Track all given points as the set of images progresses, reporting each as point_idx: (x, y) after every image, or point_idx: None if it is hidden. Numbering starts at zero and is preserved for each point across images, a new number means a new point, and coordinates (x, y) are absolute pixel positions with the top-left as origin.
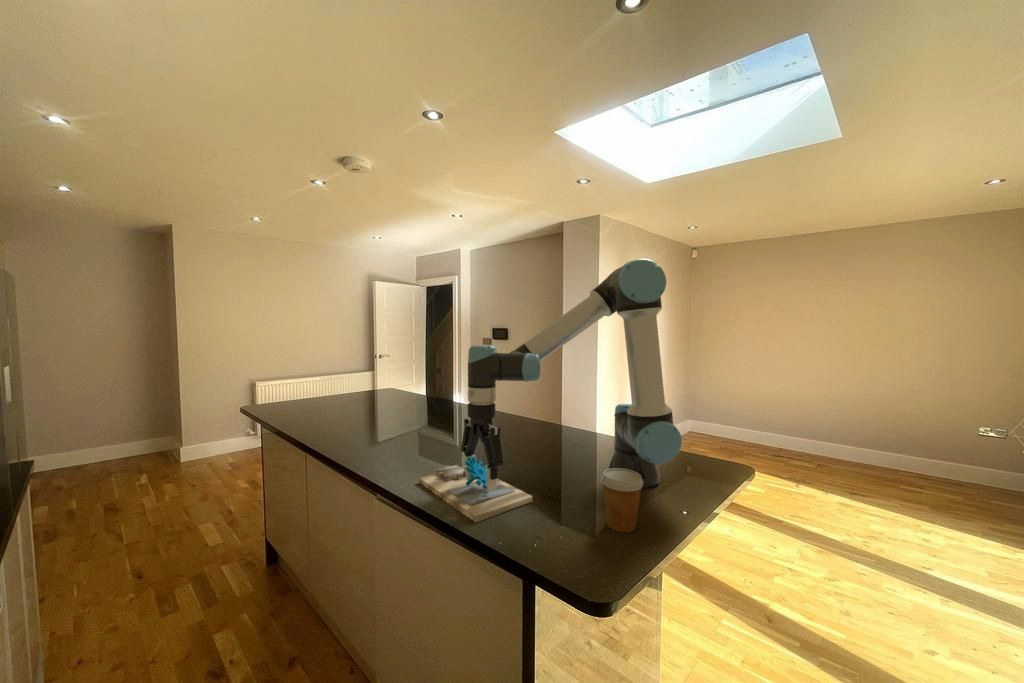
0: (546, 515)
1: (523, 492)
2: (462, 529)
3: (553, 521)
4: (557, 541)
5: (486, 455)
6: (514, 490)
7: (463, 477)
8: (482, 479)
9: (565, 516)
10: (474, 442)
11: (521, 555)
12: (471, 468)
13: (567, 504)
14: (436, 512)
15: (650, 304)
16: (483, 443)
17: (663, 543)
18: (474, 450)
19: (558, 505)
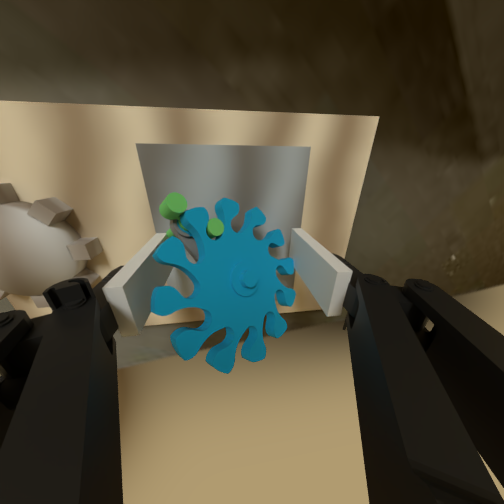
0: (436, 154)
1: (336, 119)
2: (325, 323)
3: (461, 164)
4: (488, 219)
5: (354, 368)
6: (301, 137)
7: (81, 225)
8: (277, 279)
9: (486, 110)
10: (105, 437)
11: (443, 289)
12: (257, 341)
13: (477, 15)
14: (242, 336)
15: None
16: (375, 495)
17: None
18: (96, 320)
19: (449, 58)
